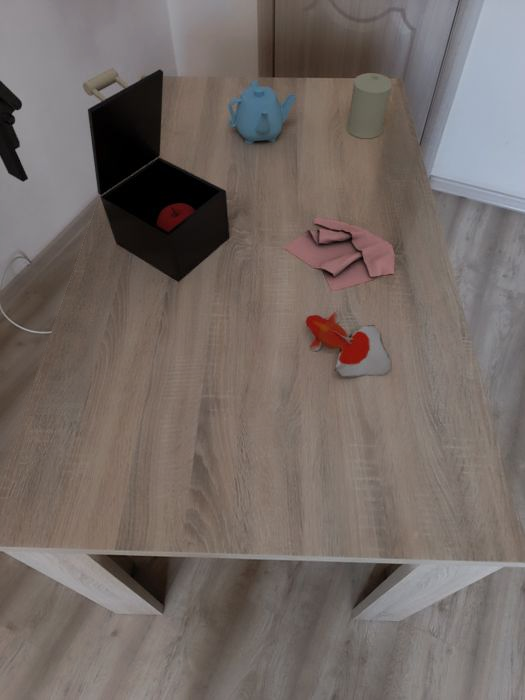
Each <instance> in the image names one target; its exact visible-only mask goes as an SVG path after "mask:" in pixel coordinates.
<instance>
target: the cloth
mask: <svg viewBox="0 0 525 700" xmlns="http://www.w3.org/2000/svg"><path fill="white" fill-rule="evenodd" d="M315 224H316V231H314V230H311V229H307V230H306V231H305V232H304V233H302V235H300V236H299V237H297V238H295V239H293V241H291V242H290V243H289V244H287V245H285V246H284V247H283V248H284V250H286V251H287V252H289V253H291V254H292V255H293V256H295V257H296V258H298V259H300V260H301V261H302V262H305V263H306V264H307V265H308V266H310V267H312V268H313V269H321V272H322V273H323V275H324V277H325V281H326V282H327V284H328V286H329V287H330V291H332V292H335V291H339V290H343V289H347V288H350V287H354V286H357V285H361V284H364V283H367V282H370V281H375V280H377V279H378V278H379V277H380V276H384V275H385V276H388V275H395V274H396V273H395V270H396V269H395V268H396V255H395V250H394V245H393V244H392V243H391V242H390V241H388V240H384V239H383V238H381V237H380V236H377V235H375V234H374V233H372V232H370V231H369V230H367V229H365V228H362V227H360V226H358V225H354V224H349V223H347V222H344V221H337V220H335V219H331V218H323V217H315V218H314V220H313V225H315Z"/></svg>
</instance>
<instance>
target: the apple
mask: <svg viewBox="0 0 525 700" xmlns="http://www.w3.org/2000/svg"><path fill="white" fill-rule="evenodd" d="M194 211H196V210H195V209H194V208H192V207H191V206H189V205H187V204H183V203H176V204H172V205H169V206H167V207H165V208H164V209H163V210H162V211H161V212H160V214H159V216H158V220H157V226H159V227H161V228H162V229H164V230H166V231H168V232H169V231H170V230H171V229H173V228H174V227H175V226H176V225H178V224H179V223H180V222H182V221H183V220H184V219H185V218H187V217H188V216H189V215H190V214H192V213H193V212H194Z"/></svg>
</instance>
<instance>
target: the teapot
mask: <svg viewBox="0 0 525 700" xmlns="http://www.w3.org/2000/svg"><path fill="white" fill-rule="evenodd" d="M296 98H297V96H296V94H295V93H289V95H288V96H286V99H285V100H284V101H283V103H282V104H280V101H279V99H278V96H277V95H276V93H275V91H274V90H273V88H271V87H269V86H260V85H259V81H258V80H252V81H250V82H249V87H247V88H244V89H243V90H242V92H241V94H240V96H239V97H233V98H232V99H231V100H230V101H229V102H228V111H229V113H230V115H231V117H229V119H228V121H227V122H228V123H227V124H228V125H229V127H231V128H236V129H237V130H238V132H239V134H240V135H241V136H242V137H243V139H244V141H245V143H246V144H249V145H251V144H254V143H255V142H257V141H260V142H261V141H267V142H269V143H270V142H271V143H272V142H273V143H274V142H276V140H277V137H278V136H279V135H280V134H281V131H282V130H283V126H284V123H285V121H286V119H287V117H288V115H289V113H290V112H291V111H290V110H291V109H292V107H293V104H294V102H295V100H296ZM236 103H237V104H236ZM234 104H236V109H235V113H234V110H233V105H234ZM232 121H233V122H232Z"/></svg>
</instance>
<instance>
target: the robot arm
mask: <svg viewBox="0 0 525 700" xmlns="http://www.w3.org/2000/svg"><path fill="white" fill-rule="evenodd" d="M22 107H23V103H22V100H21V99H20V98H19V97H18V96H17V95H16V94H15V93H14V92H13V91H12V90H11V89H10V88H9V87H8V86H7V85H5V83H4V82H3V81H2V80H0V159H1V161H2V163H3V165H4V167H5V169H6V171H7V173H8V174H9V175H10V176H12V177H13V178H16V179H17V180H19V181H21V182H22V183H23V182H26V181H28V180H29V176H28V175H27V172H26V170H25V168H24V165H23V163H22V162H21V159H20V157H19V155H18V153H17V151H16V150H17V149H18V148H21V143H20V142H21V141H20V140H19V137H18V135H17V131H16V130H15V128H14V125H15V124H16V117H15V115H14V112H15V111H20V110H21V109H22Z"/></svg>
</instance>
